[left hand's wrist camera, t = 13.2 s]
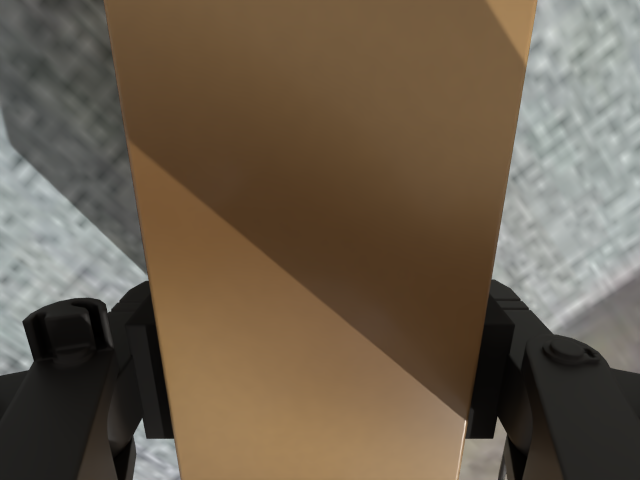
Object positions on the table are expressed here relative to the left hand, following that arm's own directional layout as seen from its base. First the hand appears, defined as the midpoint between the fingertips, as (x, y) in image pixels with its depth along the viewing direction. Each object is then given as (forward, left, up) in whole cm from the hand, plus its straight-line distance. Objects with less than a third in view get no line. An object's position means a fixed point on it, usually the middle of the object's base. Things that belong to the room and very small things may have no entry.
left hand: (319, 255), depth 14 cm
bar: (-3, +33, -1) cm, 33 cm away
